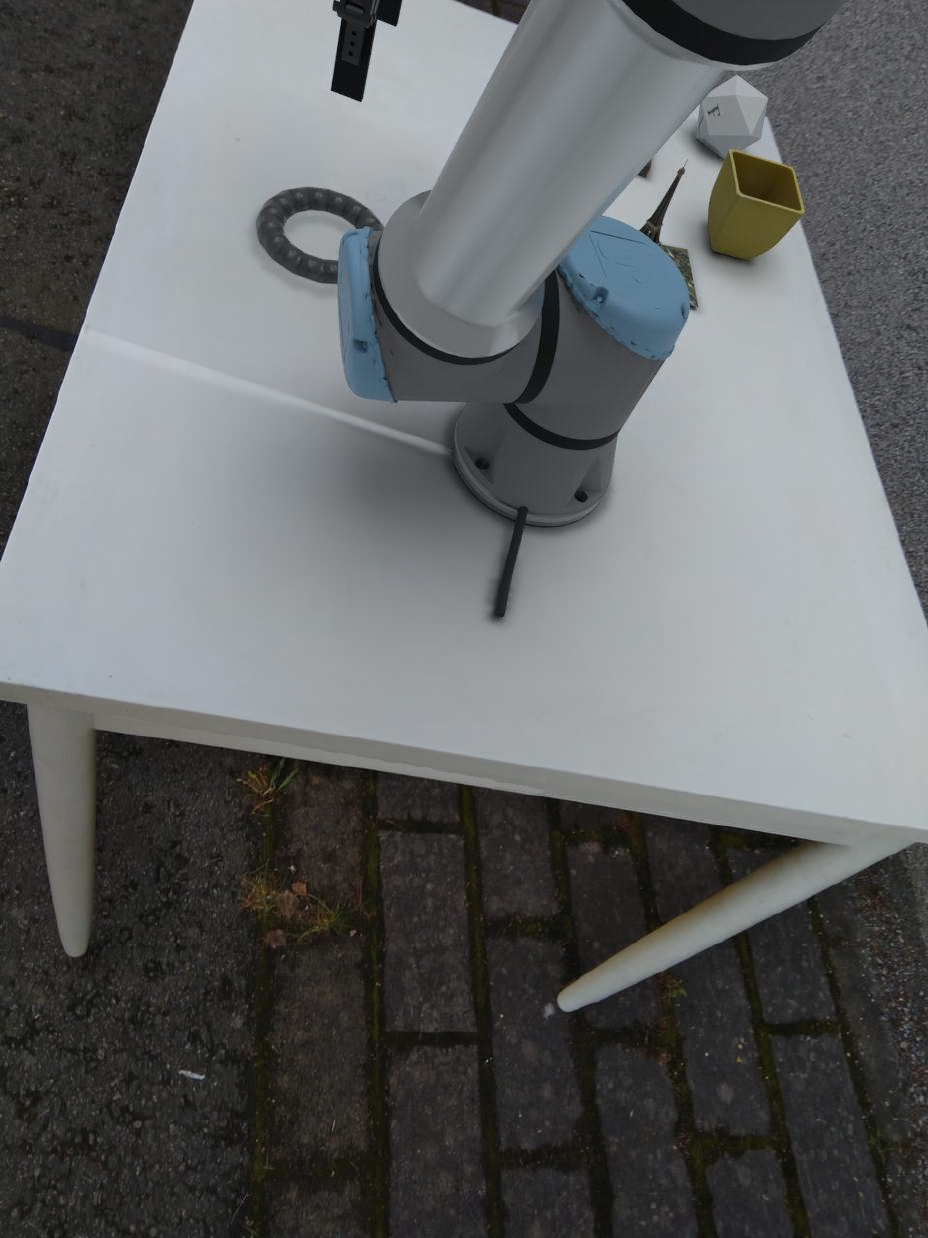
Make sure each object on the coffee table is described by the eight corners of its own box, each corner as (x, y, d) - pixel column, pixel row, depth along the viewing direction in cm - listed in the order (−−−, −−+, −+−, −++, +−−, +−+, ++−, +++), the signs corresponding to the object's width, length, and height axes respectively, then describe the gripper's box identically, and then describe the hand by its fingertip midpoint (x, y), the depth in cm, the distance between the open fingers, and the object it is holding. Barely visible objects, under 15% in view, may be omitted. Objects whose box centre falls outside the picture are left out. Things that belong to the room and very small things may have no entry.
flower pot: (763, 276, 110) (806, 213, 103) (699, 258, 108) (738, 193, 101) (753, 230, 115) (794, 166, 107) (691, 212, 113) (728, 146, 105)
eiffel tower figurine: (574, 282, 100) (625, 174, 89) (568, 223, 105) (615, 114, 94) (696, 310, 103) (759, 209, 92) (684, 251, 108) (743, 149, 97)
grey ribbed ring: (370, 310, 89) (375, 290, 87) (238, 265, 87) (240, 243, 85) (398, 230, 96) (403, 209, 94) (277, 187, 94) (279, 164, 92)
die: (687, 120, 125) (693, 74, 115) (753, 101, 124) (764, 52, 114) (700, 177, 125) (707, 136, 115) (766, 159, 123) (778, 115, 113)
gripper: (406, -323, 69) (359, -24, 87) (320, -215, 56) (285, 112, 73) (498, -281, 70) (433, 6, 88) (436, -165, 57) (373, 146, 74)
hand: (365, 55), depth 80 cm, fingers open, 13 cm apart
